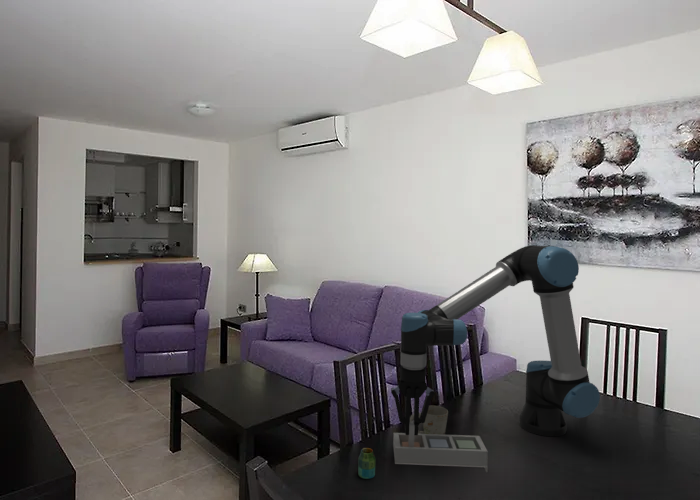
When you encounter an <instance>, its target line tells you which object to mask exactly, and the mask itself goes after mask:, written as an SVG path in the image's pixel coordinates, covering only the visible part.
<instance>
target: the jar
mask: <svg viewBox="0 0 700 500" xmlns="http://www.w3.org/2000/svg"><path fill="white" fill-rule="evenodd" d="M359 453H360V454H359V456H358V459H357V460H358V461H357V463H358V465H357V466H358V471H357V472H358V477H360V478H361V479H364V480H365V479H366V480H368V479H372V478H374V477H375V475H376V456H375V454H374V453H375V452H374V450H373V449H372V448H369V447H363V448H362V449H360V452H359Z"/></svg>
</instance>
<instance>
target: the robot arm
mask: <svg viewBox="0 0 700 500" xmlns="http://www.w3.org/2000/svg"><path fill="white" fill-rule="evenodd" d="M579 267H580V266H579V262H578V260H577V258H576V256H575V255H574V253H572V252H571V251H570V250H569V249H568V248H567V249H566V248H564V247H560V246H557V245H531V244H530V245H526V246H522V247H520V248H519V249H517V250H514V251H513V252H511V253H509V254H508V255H506V256H504V257H503V258H502V259H499V260H498V261H497V262H496V264H495V267H494V268H492V269H490V270H489V271H487V272H486V273H484V274H482V275H480V277H477V278H476V279H475V280H473V281H472V282H470V283H469V284H467V285H466V286H464V287H463V288H461V289H460V290H458V291H456V292H455V293H452V295H450V296H449V297H447V298H446V299H444V300H443V301H441V302H439V303H438V304H435V306H433V307H431V308H430V309H422V310H420V311H418V312H407V313H404V314H403V315H402V318H401V322H400V323H401V325H400V364H399V365H400V367H399V381H398V384H397V386H395V387H391V388H390V392H391V393H390V394H391V395H392V396H393V398H394V401H395V407H396V411H397V412H396V413H397V415H398V416H397V417H398V419H399V422H400V423H403V424H404V433H405V434H406V435H408V445H409V447H414V435H418V431H419V425H420V424H423V423H424V422H425V419H426V416H427V412H428V408H429V406H431V401H432V399H433V398H434V396H435V395H436V394H435V391H434V389H433V388H430V387H428V384H427V368H426V366H427V349H428V347H429V346H430V347H433V346H434V347H435V346H436V347H437V346H441V347H442V346H454V347H455V346H459V345H463V344H465V342H466V341H467V338H468V329H467V325H466V323H465V322H464V321H463V320H462V319H460V318H462V317H463V316H465V315H467V313H470V312H471V311H473V310H474V309H476V308H477V307H479V306H480V305H482V304H483V303H485V302H486V301H488V300H490V299H491V298H492V297H494V296H496V295H497V294H499V293H500V292H502V291H503V290H504V289H506V288H508V287H515V286H517V285H518V284H521V283H523V282H528V281H529V282H531V285H532V289H533V290H532V291H533V293H535V294H536V295H537V296H539V300H540V305H541V306H540V307H541V312H542V317H543V323H544V329H545V335H546V341H547V346H548V351H549V352H548V353H549V359H550V360H532V361H529V362H528V363H526V371H525V373H526V375H525V376H526V378H525V404H524V406H523V408H522V411H521V414H520V415H519V422H518V423H519V426H520V427H521V428H522V429H524V431H527V432H529V433H533V434H535V435H538V436H544V437H560V436H563V435H565V434H566V433H567V422H566V419H565V418H566V417H565V415H564V414H566V415H569V416H571V417H574V418H577V419H581V418H586V417H588V416H590V415H592V414H593V413H594V412H595V410H596V408H598V405H599V403H600V399H601V393H600V390H599V389H598V387H597V386H596V385H595V384H593V382H592V383H591V382H590V378H589V377H590V376H589V371H588V369H587V368H586V367H584V366H582V360H581V355H580V350H579V344H578V337H577V332H576V325H575V320H574V314H573V307H572V302H571V296H570V295H571V294H570V292H571V291H572V290H573V289H574V286H575V285H574V282H575V281H576V280H577V276H578V275H579V271H580V270H579ZM400 391H401V393H402V395H403V396H404V397H405V404H404V405H405V407H404V416H403V412H402V406H401V405H402V404H401V401H400V397H399V395H400ZM424 393H425V398H424V401H423V405H422V408H421V412H420V398H421V397H423V394H424ZM411 399H413V414H414V419H413V421H412V422H410V417H411V402H412V401H411ZM419 413H421V415H420V417H419Z"/></svg>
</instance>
